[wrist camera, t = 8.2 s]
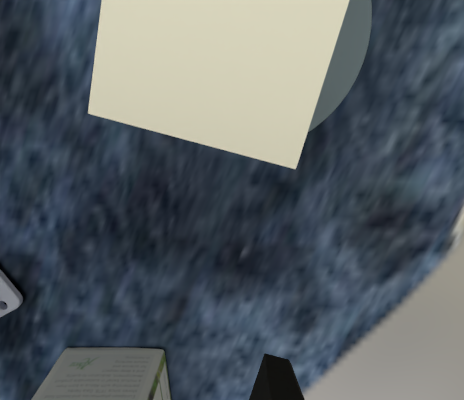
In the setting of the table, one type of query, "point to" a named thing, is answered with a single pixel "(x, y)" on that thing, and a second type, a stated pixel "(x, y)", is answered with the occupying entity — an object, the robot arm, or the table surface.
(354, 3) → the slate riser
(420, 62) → the table surface
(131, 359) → the syrup box
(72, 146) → the table surface
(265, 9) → the cream block
